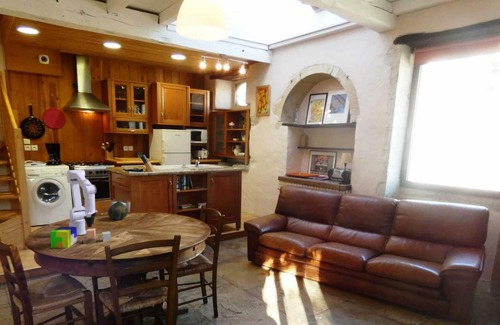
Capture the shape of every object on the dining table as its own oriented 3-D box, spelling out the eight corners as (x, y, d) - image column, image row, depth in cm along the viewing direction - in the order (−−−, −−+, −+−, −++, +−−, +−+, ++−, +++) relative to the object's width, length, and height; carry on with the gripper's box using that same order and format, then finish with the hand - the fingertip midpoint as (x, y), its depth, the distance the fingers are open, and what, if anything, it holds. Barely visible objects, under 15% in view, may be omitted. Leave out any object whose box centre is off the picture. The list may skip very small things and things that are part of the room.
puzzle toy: (77, 242, 189) (76, 226, 188) (68, 247, 179) (67, 231, 178) (61, 242, 189) (60, 226, 188) (51, 247, 179) (50, 231, 178)
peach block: (86, 238, 187) (86, 231, 187) (87, 236, 191) (87, 228, 191) (94, 238, 189) (94, 230, 188) (95, 235, 193) (95, 228, 192)
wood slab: (83, 244, 186) (83, 239, 185) (86, 240, 192) (85, 236, 192) (95, 243, 188) (95, 238, 188) (97, 239, 194) (97, 235, 194)
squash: (108, 216, 229) (121, 200, 236) (101, 213, 240) (113, 197, 246) (123, 225, 238) (134, 209, 244) (115, 222, 248) (126, 207, 254)
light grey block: (103, 242, 189) (103, 234, 189) (102, 240, 193) (101, 232, 192) (110, 240, 192) (110, 233, 191) (109, 238, 195) (109, 231, 195)
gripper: (95, 206, 183) (95, 228, 184) (98, 201, 196) (99, 221, 198) (82, 207, 180) (83, 229, 182) (86, 202, 194) (87, 222, 195)
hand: (90, 225), depth 189 cm, fingers open, 7 cm apart
